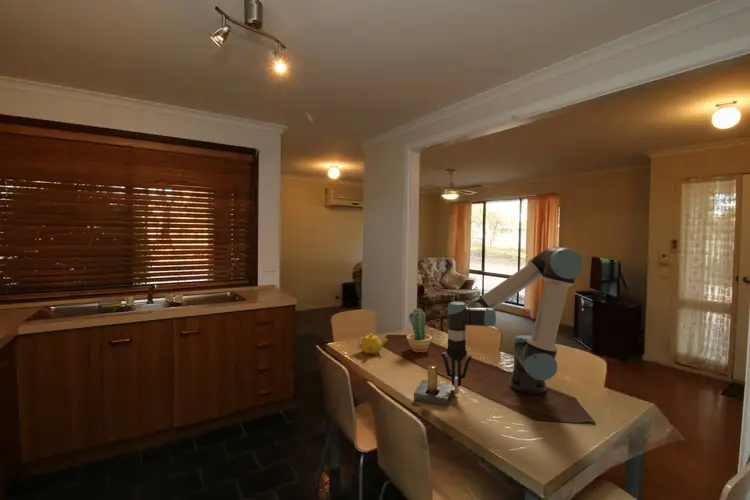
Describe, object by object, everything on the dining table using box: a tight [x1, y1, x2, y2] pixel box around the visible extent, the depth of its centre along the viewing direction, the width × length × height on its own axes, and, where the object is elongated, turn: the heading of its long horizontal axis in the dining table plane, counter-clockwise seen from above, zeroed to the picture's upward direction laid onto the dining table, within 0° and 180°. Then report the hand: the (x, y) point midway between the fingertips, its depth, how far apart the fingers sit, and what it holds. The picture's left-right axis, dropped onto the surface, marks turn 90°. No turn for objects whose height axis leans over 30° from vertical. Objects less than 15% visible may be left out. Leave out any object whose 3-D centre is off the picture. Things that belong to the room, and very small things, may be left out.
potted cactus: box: [406, 308, 433, 353], centre depth 207 cm, size 15×15×25 cm
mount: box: [413, 379, 454, 408], centre depth 149 cm, size 14×14×4 cm
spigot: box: [427, 364, 438, 395], centre depth 146 cm, size 4×4×14 cm
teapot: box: [357, 333, 389, 356], centre depth 204 cm, size 14×14×11 cm
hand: (456, 392), depth 149 cm, fingers closed
